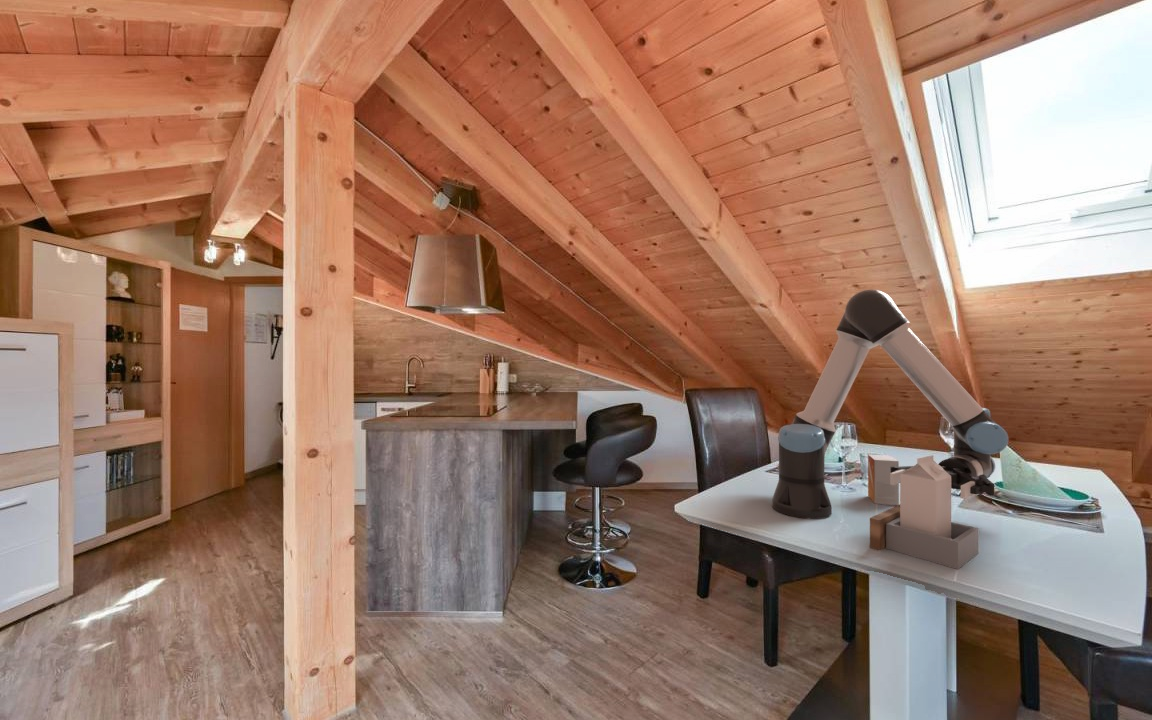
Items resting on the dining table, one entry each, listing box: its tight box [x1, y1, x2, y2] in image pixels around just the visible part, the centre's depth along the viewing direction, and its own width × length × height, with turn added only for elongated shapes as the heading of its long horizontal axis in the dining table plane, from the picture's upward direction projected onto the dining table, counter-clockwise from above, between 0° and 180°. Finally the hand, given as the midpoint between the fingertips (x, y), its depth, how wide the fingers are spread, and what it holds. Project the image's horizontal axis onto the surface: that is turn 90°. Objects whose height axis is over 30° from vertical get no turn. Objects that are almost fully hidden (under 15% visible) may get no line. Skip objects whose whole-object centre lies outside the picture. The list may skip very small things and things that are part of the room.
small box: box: [867, 454, 900, 506], centre depth 142 cm, size 8×6×13 cm
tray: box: [885, 517, 979, 570], centre depth 105 cm, size 13×13×6 cm
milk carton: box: [899, 455, 952, 539], centre depth 106 cm, size 7×7×19 cm
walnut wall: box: [869, 504, 900, 552], centre depth 111 cm, size 18×2×7 cm, turn 126°
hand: (925, 485), depth 107 cm, fingers open, 13 cm apart
